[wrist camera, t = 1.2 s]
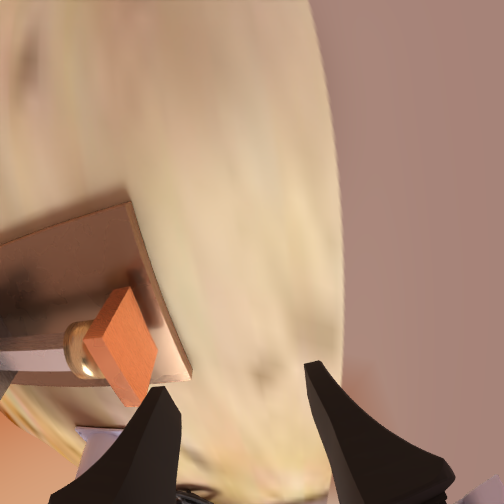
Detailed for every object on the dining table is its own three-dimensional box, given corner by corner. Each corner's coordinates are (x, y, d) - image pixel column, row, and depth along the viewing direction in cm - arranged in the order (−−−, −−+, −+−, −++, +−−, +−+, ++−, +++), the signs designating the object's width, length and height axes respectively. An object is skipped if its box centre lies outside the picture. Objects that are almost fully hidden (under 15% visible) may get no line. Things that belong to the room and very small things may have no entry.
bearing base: (131, 201, 17) (63, 254, 9) (192, 369, 23) (183, 459, 15) (-65, 274, 17) (-109, 312, 10) (-10, 374, 23) (-39, 420, 15)
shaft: (130, 286, 17) (102, 337, 12) (158, 350, 19) (143, 406, 14) (-32, 316, 17) (-61, 346, 12) (-7, 359, 19) (-30, 391, 14)
